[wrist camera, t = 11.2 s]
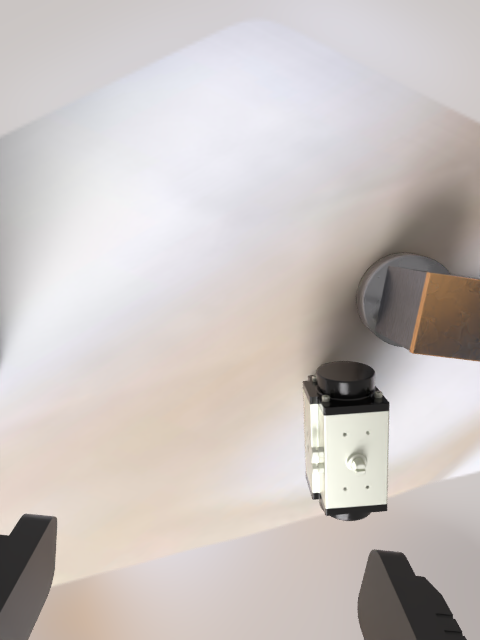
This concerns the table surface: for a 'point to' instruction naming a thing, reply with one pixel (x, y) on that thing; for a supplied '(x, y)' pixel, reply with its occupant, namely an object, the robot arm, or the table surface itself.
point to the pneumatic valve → (346, 440)
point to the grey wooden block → (431, 313)
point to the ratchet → (374, 285)
